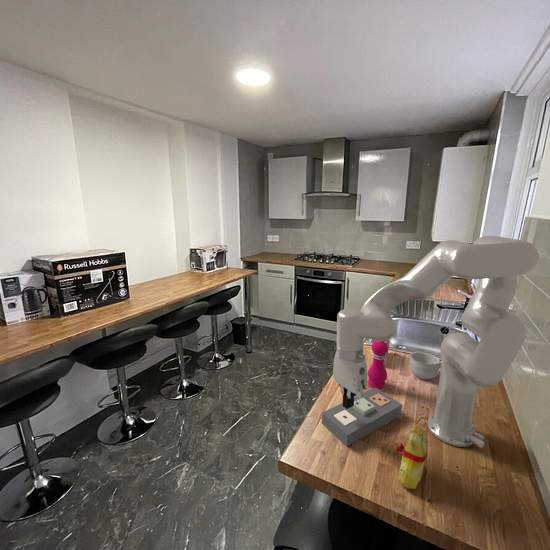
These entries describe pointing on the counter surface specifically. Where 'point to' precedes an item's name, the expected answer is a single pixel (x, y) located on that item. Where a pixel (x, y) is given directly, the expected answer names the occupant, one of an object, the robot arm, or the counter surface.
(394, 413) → the console
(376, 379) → the pink bowling pin
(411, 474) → the chocolate bunny
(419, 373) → the teacup
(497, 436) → the counter surface
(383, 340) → the tin
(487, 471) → the counter surface
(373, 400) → the tile three
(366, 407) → the tile two
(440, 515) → the counter surface
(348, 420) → the tile one
